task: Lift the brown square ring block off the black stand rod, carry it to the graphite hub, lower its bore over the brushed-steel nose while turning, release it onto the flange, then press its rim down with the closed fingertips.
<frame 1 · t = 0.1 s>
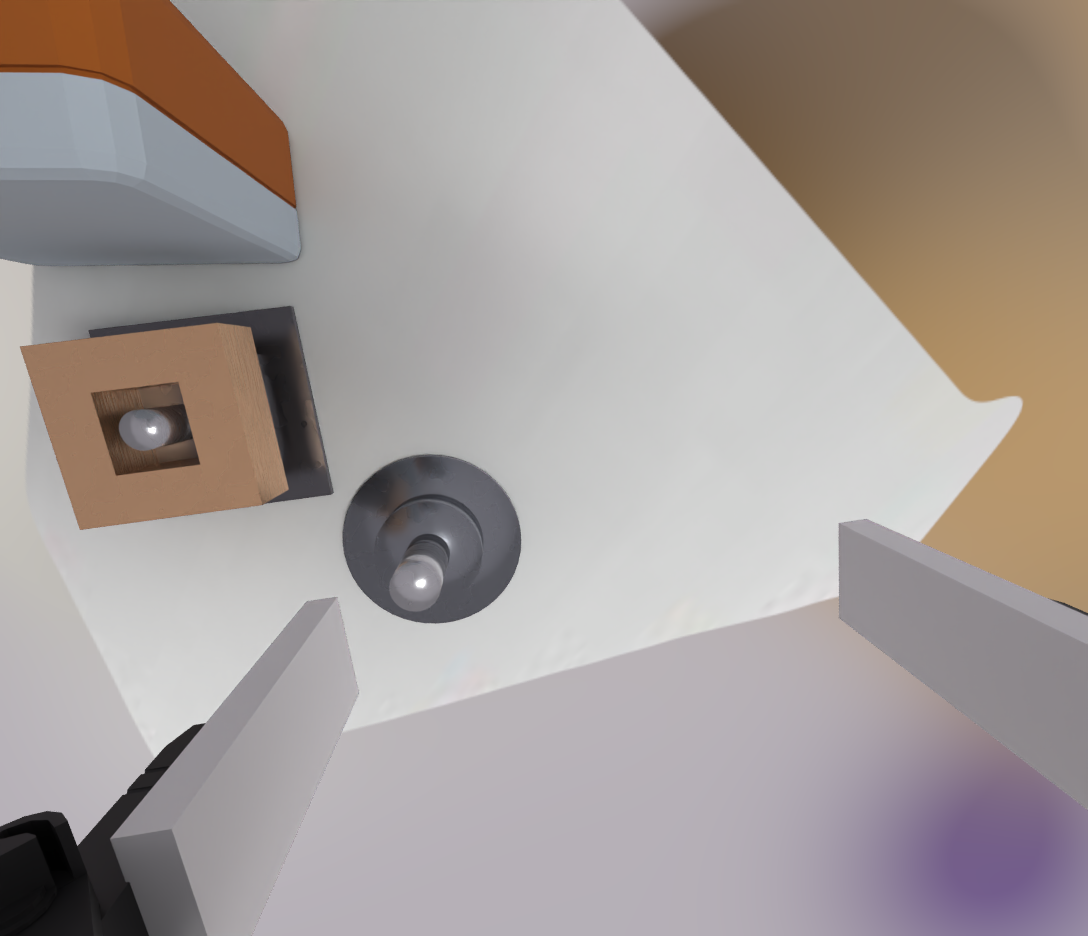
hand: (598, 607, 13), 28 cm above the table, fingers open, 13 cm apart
brown square ring block: (187, 421, 35), point 4 cm above the table, touching stand
stand: (219, 415, 39), on the table
grey rounded upright slab: (166, 199, 36), on the table
hub: (434, 540, 42), on the table
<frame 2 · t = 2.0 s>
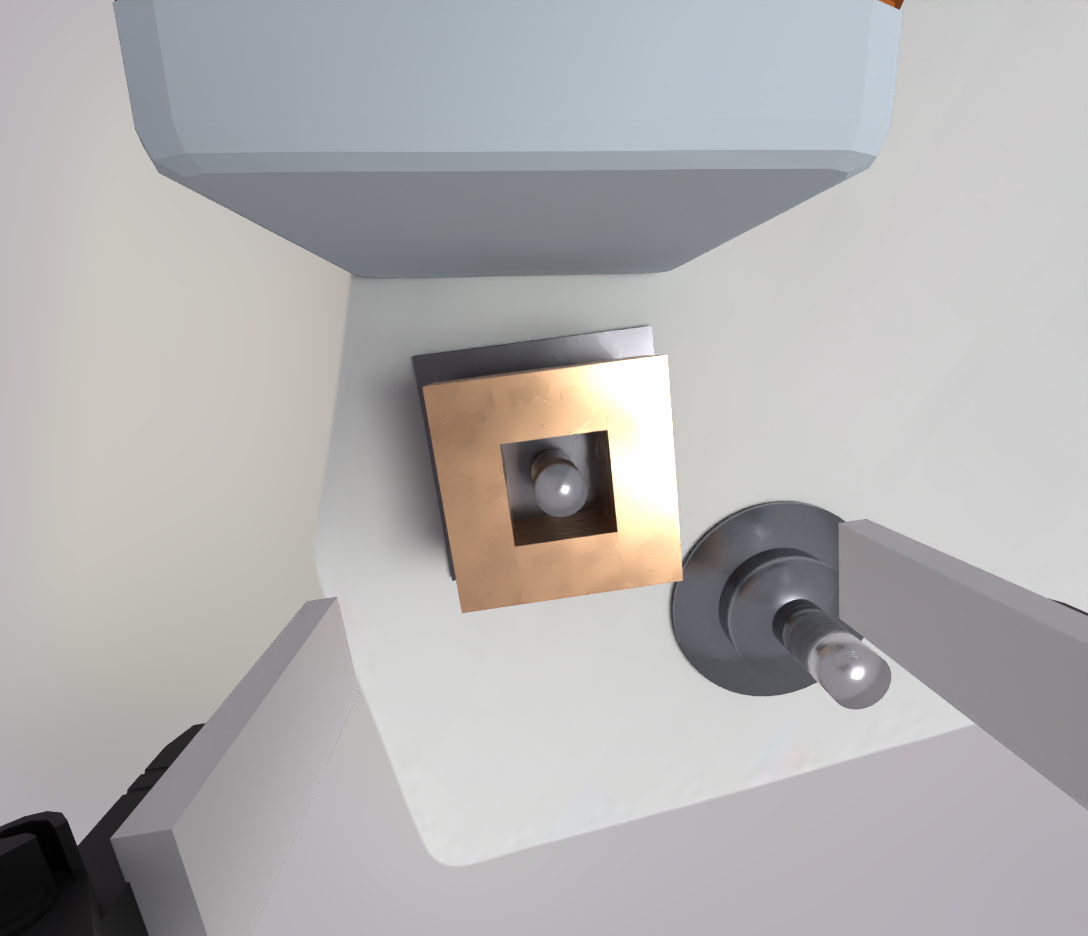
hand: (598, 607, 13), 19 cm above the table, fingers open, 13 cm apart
brown square ring block: (553, 470, 28), point 4 cm above the table, touching stand
stand: (547, 456, 32), on the table
grey rounded upright slab: (514, 195, 29), on the table
hub: (773, 600, 35), on the table
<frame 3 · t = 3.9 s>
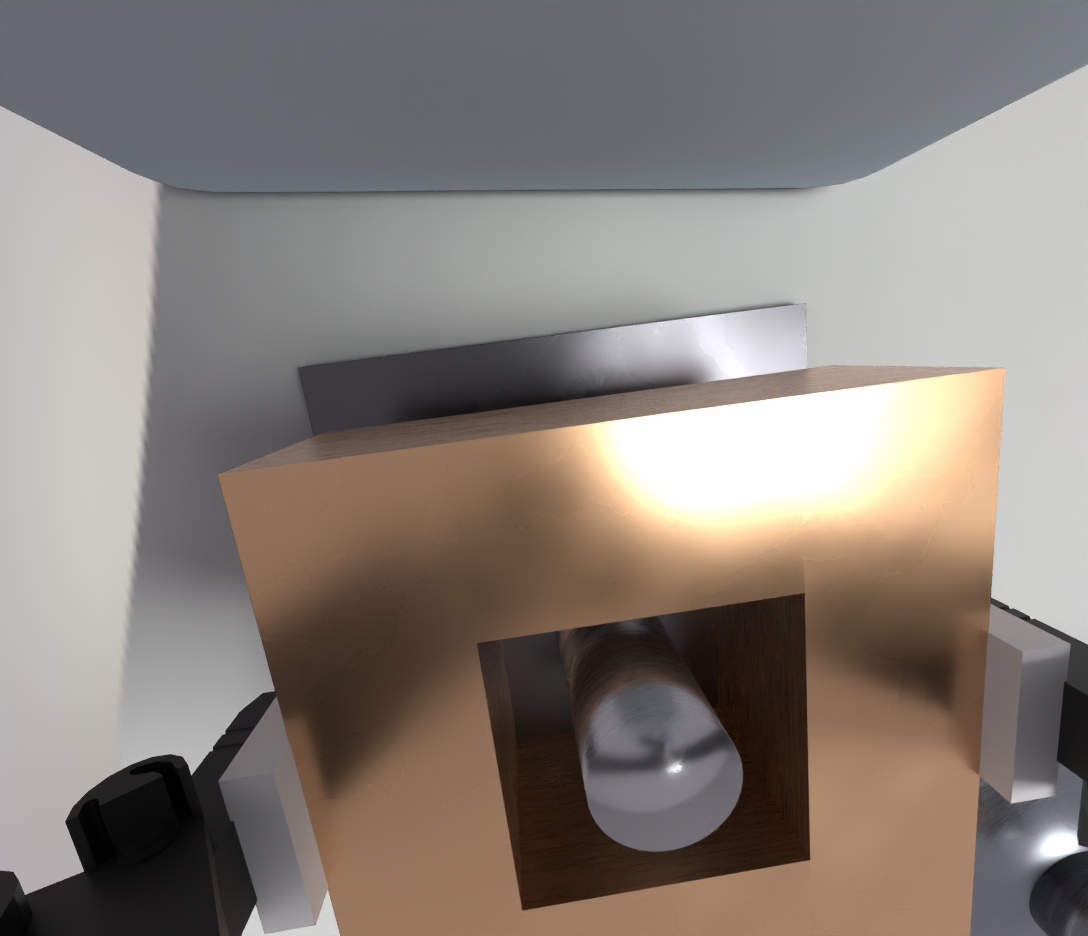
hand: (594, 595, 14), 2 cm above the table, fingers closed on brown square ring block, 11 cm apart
brown square ring block: (608, 631, 12), point 4 cm above the table, touching gripper, stand
stand: (583, 566, 16), on the table
grey rounded upright slab: (517, 14, 13), on the table
hub: (990, 811, 19), on the table
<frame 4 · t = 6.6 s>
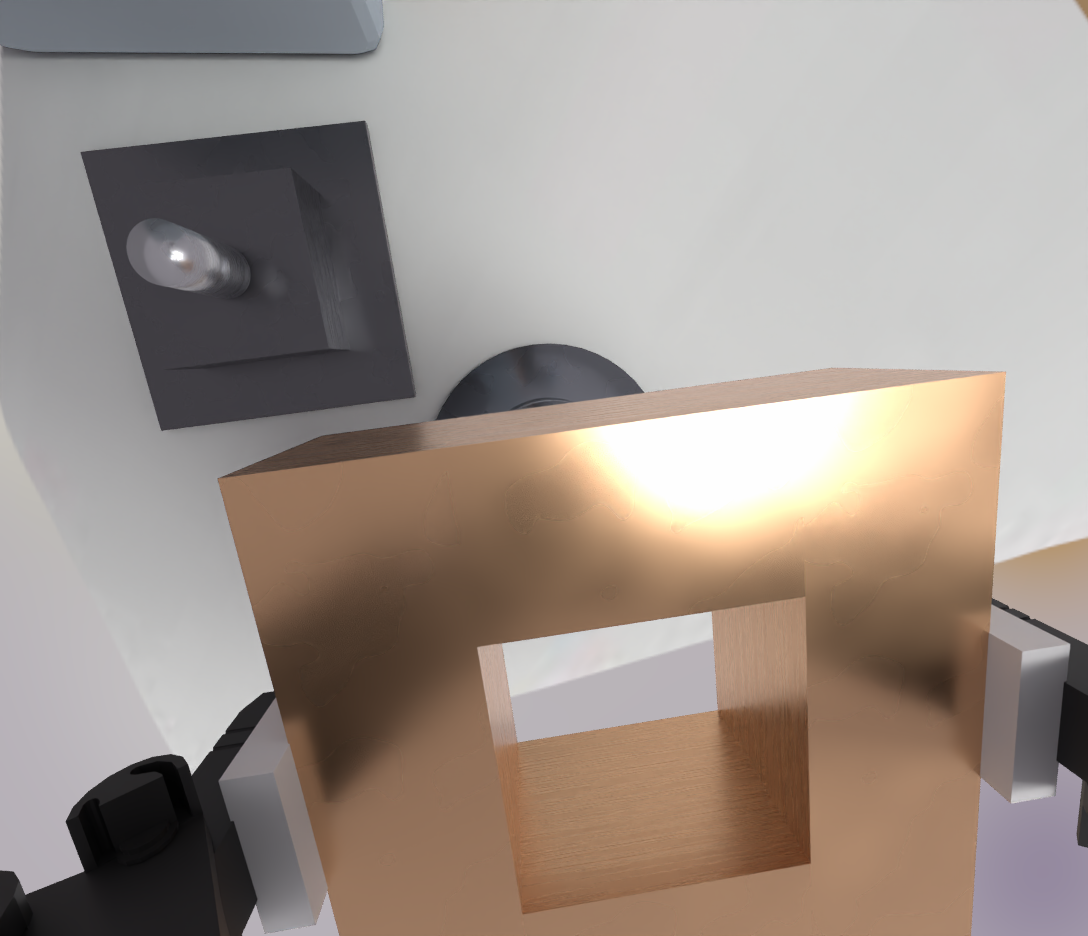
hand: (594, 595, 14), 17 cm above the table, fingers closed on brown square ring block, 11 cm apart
brown square ring block: (608, 634, 12), point 19 cm above the table, touching gripper
stand: (263, 283, 28), on the table
hub: (547, 463, 31), on the table
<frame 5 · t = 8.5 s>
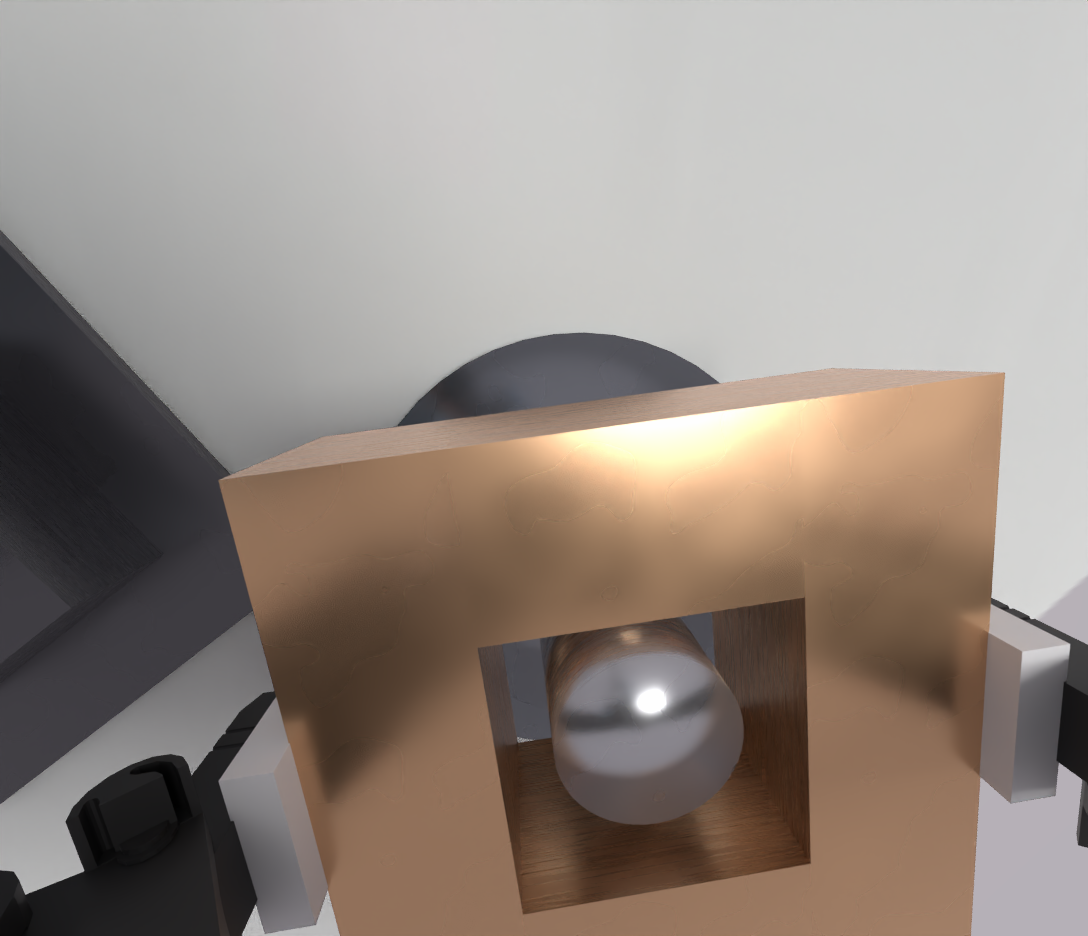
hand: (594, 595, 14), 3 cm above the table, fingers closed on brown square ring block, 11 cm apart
brown square ring block: (608, 634, 12), point 5 cm above the table, touching gripper
hub: (576, 549, 17), on the table
when the fingers open (2 cm above the table, at t = 9.4 s): brown square ring block drops 1 cm, resting on hub.
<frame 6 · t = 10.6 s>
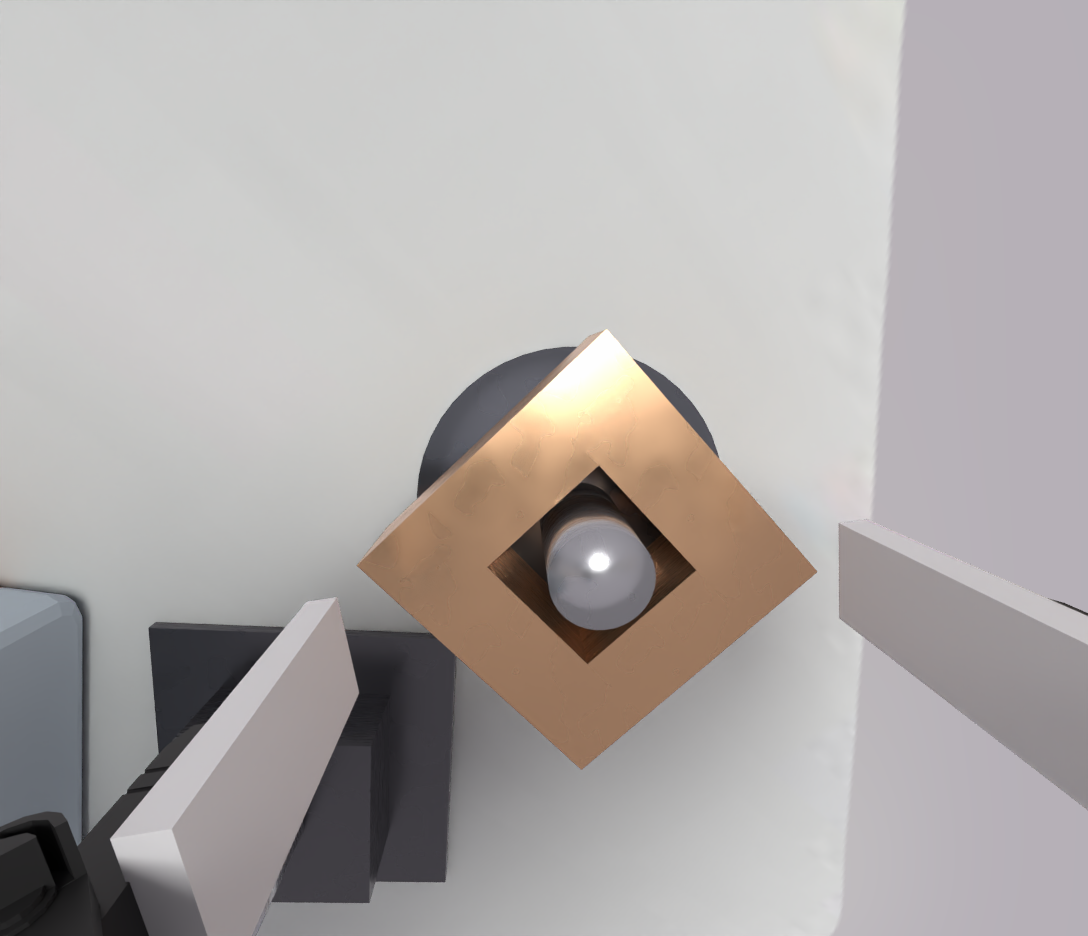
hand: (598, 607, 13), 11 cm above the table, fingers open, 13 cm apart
brown square ring block: (578, 531, 21), point 3 cm above the table, touching hub
stand: (311, 756, 26), on the table
hub: (571, 501, 24), on the table
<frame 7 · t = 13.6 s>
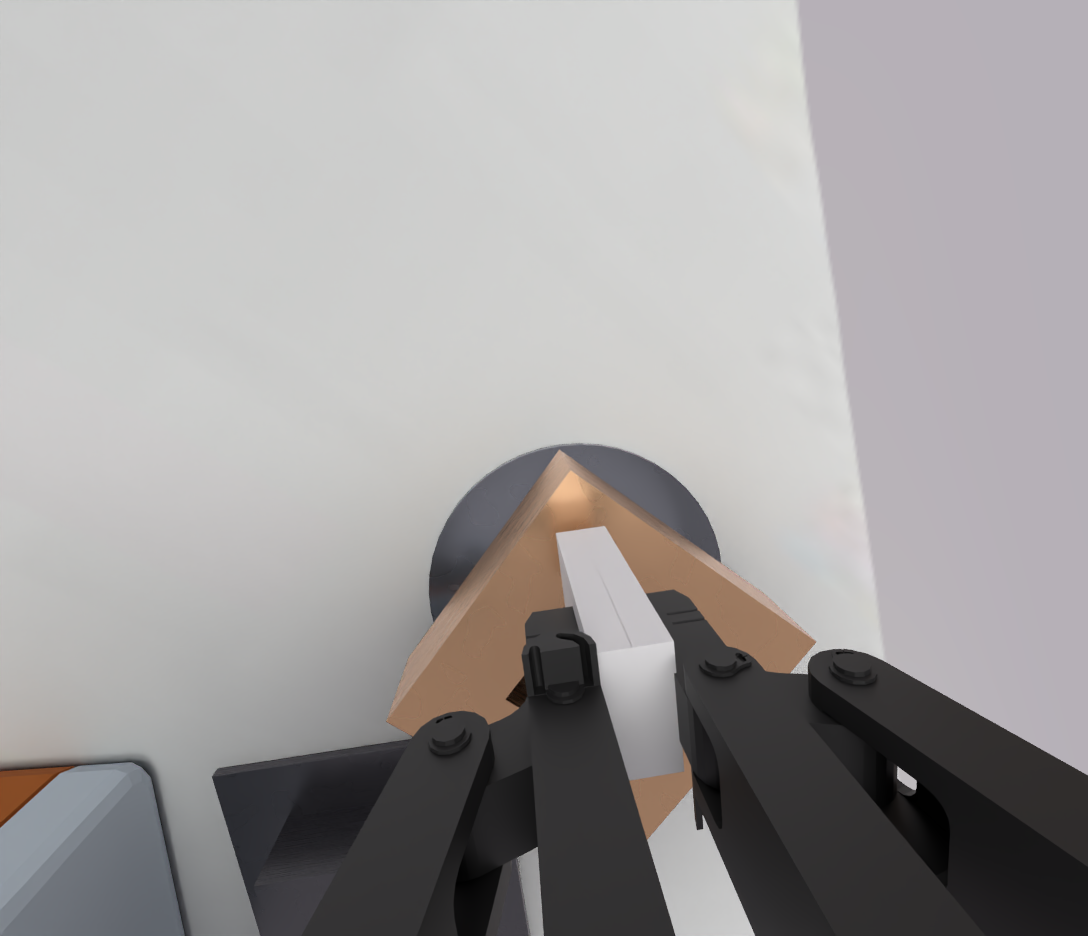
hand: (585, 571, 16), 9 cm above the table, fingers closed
brown square ring block: (587, 625, 22), point 3 cm above the table, touching hub
stand: (383, 859, 28), on the table
grey rounded upright slab: (101, 900, 27), on the table
hub: (576, 585, 25), on the table
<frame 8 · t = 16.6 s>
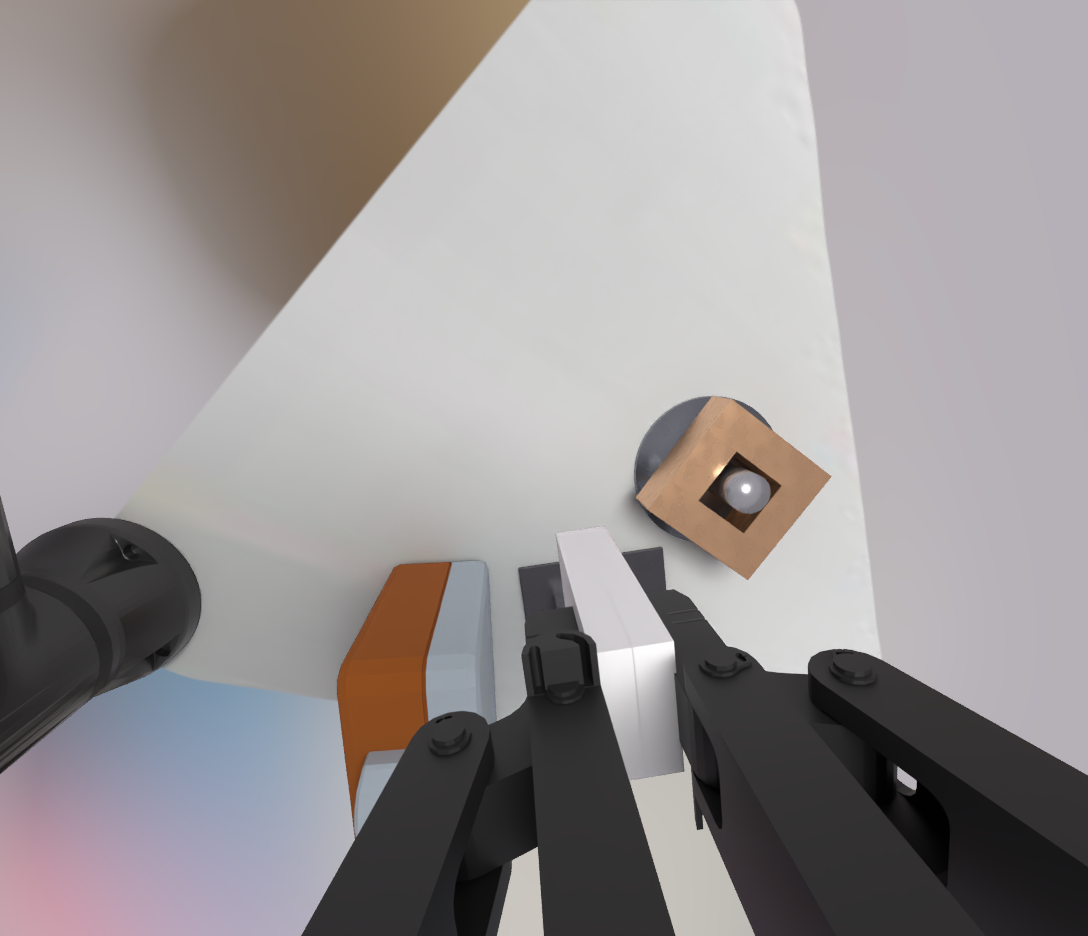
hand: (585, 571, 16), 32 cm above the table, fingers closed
brown square ring block: (720, 482, 46), point 3 cm above the table, touching hub
stand: (597, 622, 52), on the table
grey rounded upright slab: (448, 644, 51), on the table
hub: (707, 470, 49), on the table
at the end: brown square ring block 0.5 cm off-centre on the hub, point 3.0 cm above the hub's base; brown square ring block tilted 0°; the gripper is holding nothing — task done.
